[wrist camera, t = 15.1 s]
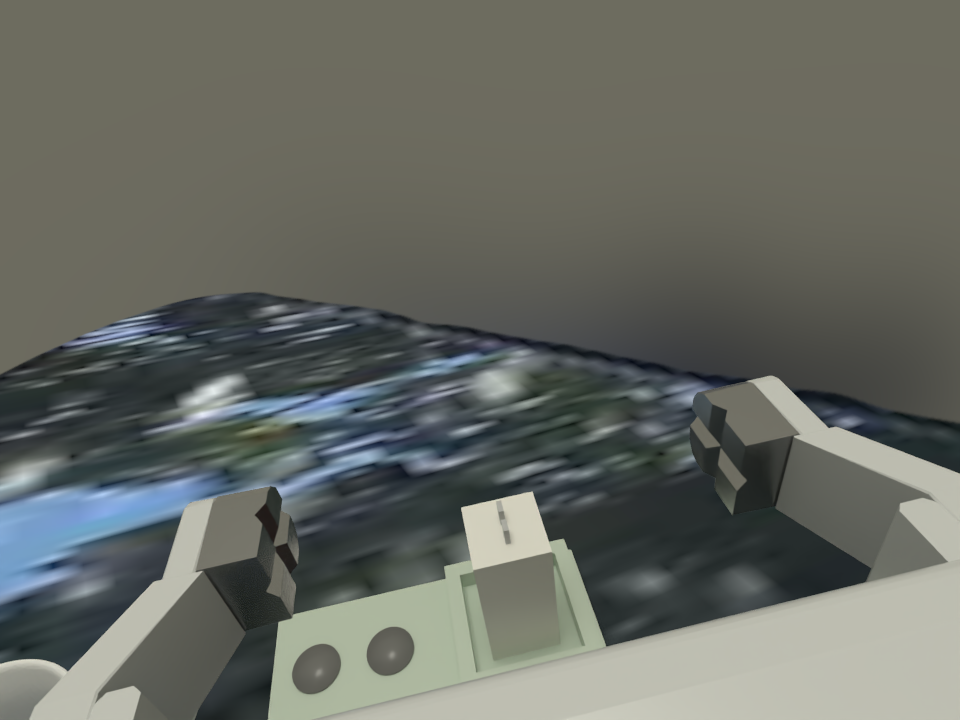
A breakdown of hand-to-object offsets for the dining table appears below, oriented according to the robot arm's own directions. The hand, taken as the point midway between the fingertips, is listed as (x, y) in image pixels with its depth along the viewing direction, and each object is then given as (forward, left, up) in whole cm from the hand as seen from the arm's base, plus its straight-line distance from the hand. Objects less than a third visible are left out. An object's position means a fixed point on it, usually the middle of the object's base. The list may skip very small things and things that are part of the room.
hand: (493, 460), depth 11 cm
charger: (-5, +13, -30) cm, 33 cm away
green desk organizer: (-11, +10, -32) cm, 35 cm away
